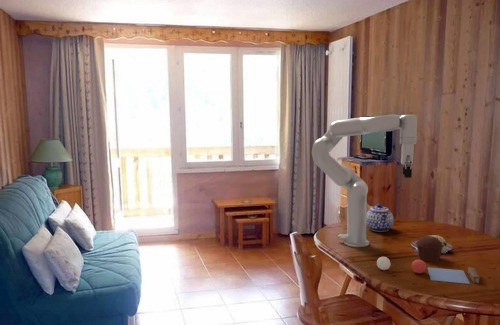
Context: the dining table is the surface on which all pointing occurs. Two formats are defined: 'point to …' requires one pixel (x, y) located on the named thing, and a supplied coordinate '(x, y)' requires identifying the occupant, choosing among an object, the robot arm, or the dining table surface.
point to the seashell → (444, 243)
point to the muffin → (429, 248)
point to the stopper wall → (473, 275)
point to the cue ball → (383, 263)
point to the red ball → (418, 266)
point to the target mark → (447, 275)
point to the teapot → (379, 218)
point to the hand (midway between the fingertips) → (407, 175)
